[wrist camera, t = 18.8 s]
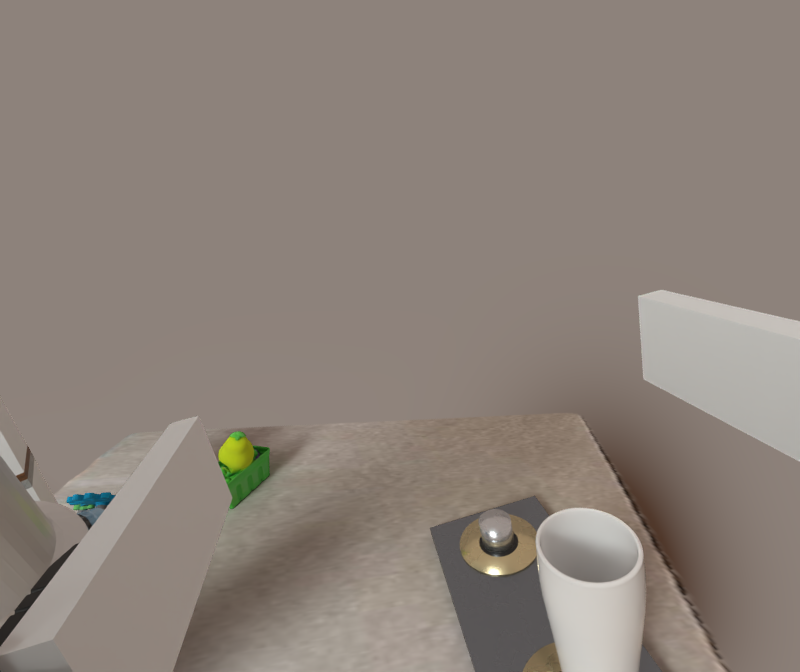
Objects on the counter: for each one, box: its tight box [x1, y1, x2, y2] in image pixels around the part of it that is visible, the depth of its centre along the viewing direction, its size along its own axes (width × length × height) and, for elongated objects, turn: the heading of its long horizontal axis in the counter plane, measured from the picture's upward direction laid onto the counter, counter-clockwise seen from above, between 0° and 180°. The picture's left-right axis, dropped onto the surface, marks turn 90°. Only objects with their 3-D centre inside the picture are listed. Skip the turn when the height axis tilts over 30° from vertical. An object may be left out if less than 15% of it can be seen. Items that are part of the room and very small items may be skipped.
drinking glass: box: [536, 508, 646, 672], centre depth 32 cm, size 7×7×15 cm
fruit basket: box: [218, 431, 270, 509], centre depth 73 cm, size 11×9×11 cm
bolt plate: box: [430, 496, 662, 672], centre depth 42 cm, size 28×14×4 cm, turn 10°
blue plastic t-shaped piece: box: [67, 492, 116, 513], centre depth 74 cm, size 11×6×10 cm
